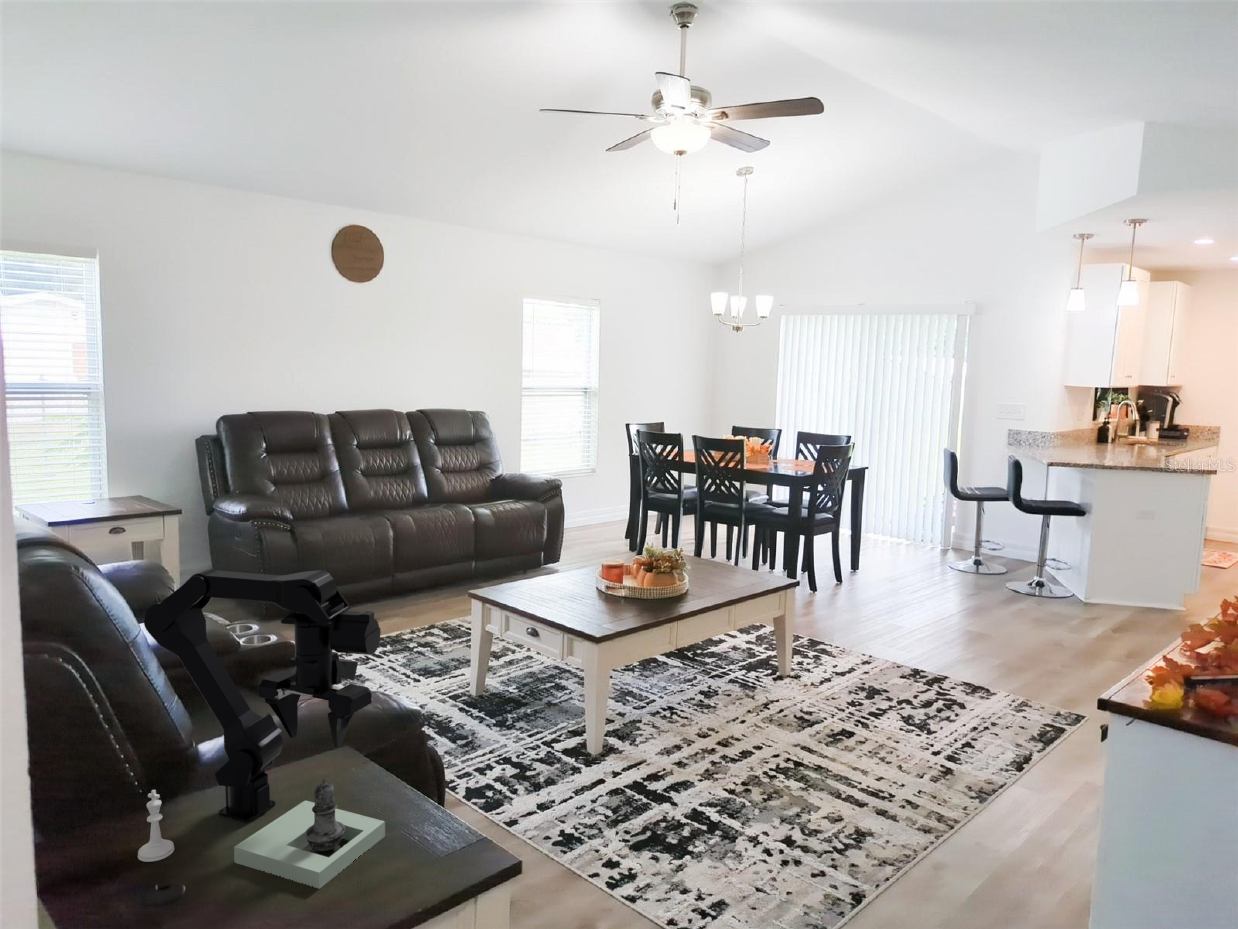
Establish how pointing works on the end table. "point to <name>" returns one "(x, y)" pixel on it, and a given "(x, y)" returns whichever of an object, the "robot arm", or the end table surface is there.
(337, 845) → the grey stone chess bishop
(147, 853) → the chess piece
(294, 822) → the socket board
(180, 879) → the end table surface
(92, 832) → the end table surface
